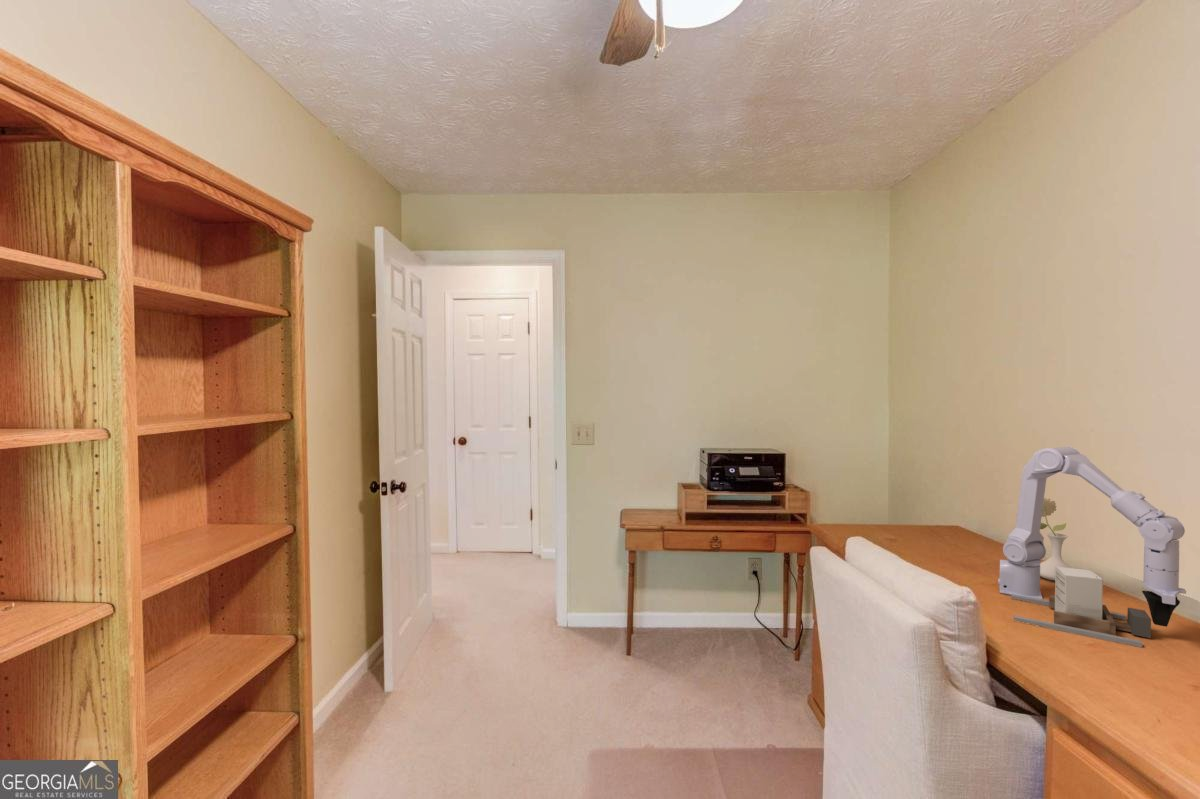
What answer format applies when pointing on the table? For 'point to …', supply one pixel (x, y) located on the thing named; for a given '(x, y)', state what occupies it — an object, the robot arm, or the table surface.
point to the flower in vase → (1052, 543)
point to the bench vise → (1105, 621)
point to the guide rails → (1073, 629)
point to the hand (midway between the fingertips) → (1159, 624)
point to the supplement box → (1078, 592)
